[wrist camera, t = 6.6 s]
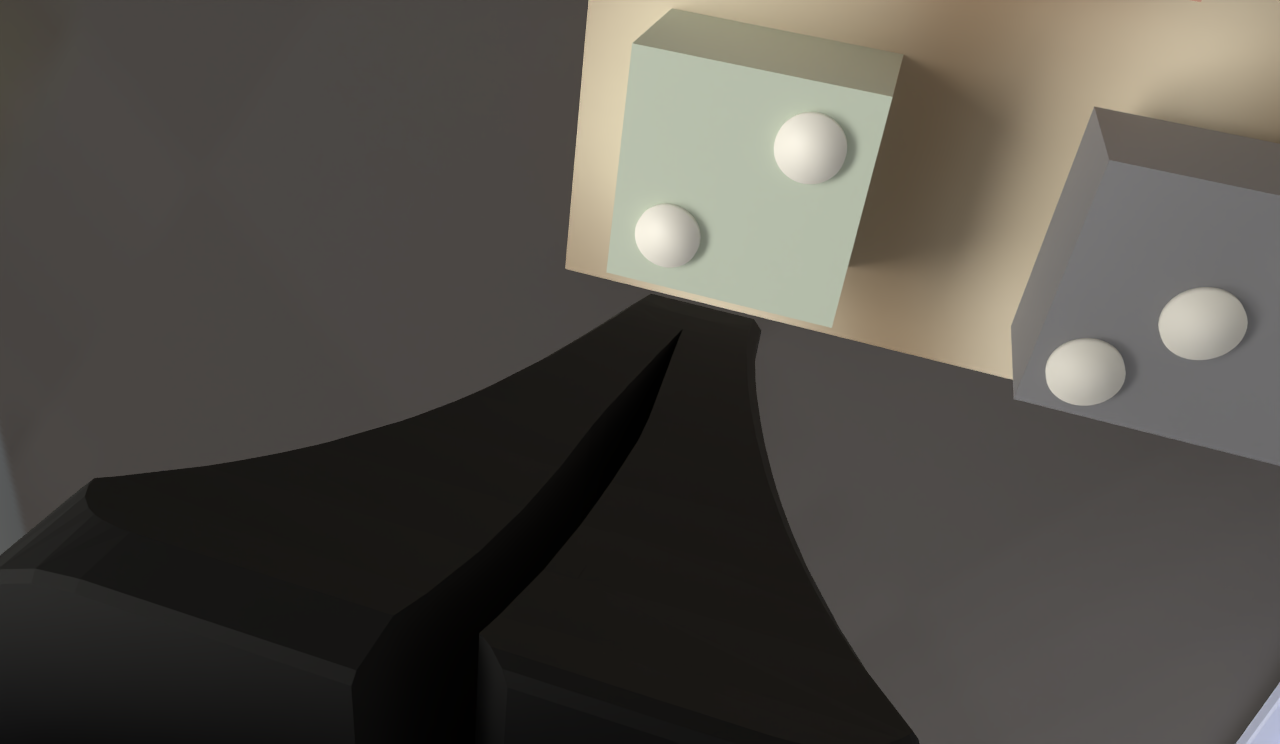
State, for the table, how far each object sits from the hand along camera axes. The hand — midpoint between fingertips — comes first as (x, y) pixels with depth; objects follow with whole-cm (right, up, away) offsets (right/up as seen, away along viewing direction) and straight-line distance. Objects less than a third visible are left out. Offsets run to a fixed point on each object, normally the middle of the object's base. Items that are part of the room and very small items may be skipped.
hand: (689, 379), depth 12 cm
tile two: (+2, +4, +6) cm, 8 cm away
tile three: (+8, +2, +5) cm, 10 cm away
